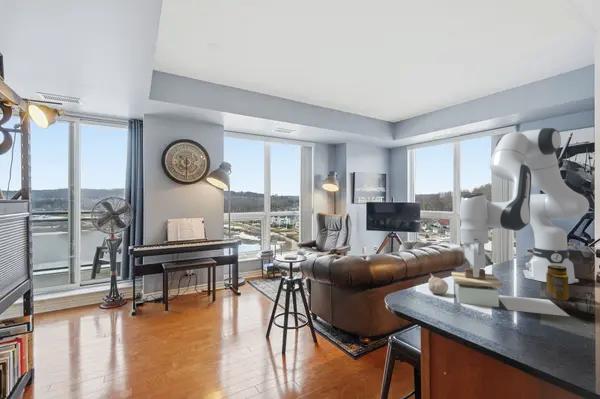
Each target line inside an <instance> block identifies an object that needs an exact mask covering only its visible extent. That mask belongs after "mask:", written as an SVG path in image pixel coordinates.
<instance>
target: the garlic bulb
mask: <svg viewBox="0 0 600 399" xmlns="http://www.w3.org/2000/svg"><path fill="white" fill-rule="evenodd" d="M429 275H430V276H431V277H430V278H428V280H427V281H428V289H429V291H430V292H431V293H432V294H435V295H446V293H447V292H448V290H449V284H448V283H447V282H446V281H445V280H444V279H442V278H440V277H437V276H434V275H433V273H431V272H430V273H429Z"/></svg>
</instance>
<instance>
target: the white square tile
mask: <svg viewBox="0 0 600 399" xmlns="http://www.w3.org/2000/svg"><path fill="white" fill-rule="evenodd" d="M499 302H501V303H502V304H503V306H504V307H505V308H506V310H507V311H515V312H526V313H535V314H536V313H537V314H542V315H543V314H544V315H552V316H553V315H554V316H562V317H570V315H569V314H568V313H567V312H566V311H564V310H563V309H562V308H560V306H557V304H555V303H554V302H553V301H551V300H550V299H546V298H545V299H543V298H534V297H521V296H512V295H501V294H499Z"/></svg>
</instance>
